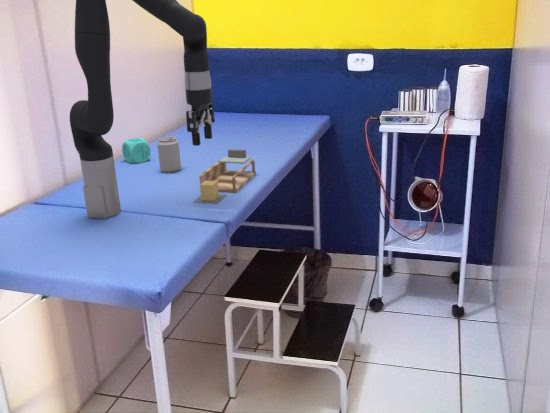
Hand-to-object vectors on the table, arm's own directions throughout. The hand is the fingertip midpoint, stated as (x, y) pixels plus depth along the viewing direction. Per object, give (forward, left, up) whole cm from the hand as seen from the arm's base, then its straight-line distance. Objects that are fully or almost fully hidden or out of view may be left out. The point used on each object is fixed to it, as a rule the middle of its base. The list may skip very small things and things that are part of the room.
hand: (202, 141), depth 179 cm
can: (+28, +26, -19) cm, 43 cm away
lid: (+23, -1, -12) cm, 26 cm away
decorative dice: (+38, +45, -19) cm, 62 cm away
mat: (0, -1, -18) cm, 18 cm away
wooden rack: (+16, -1, -18) cm, 24 cm away
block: (0, -1, -18) cm, 18 cm away
